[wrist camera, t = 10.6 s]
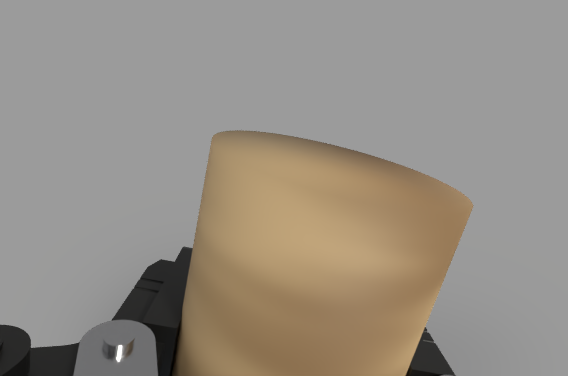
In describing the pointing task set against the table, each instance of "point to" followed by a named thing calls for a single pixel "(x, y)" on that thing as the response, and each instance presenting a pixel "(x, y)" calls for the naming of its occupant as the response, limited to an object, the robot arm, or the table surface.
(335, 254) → the wooden cylinder
